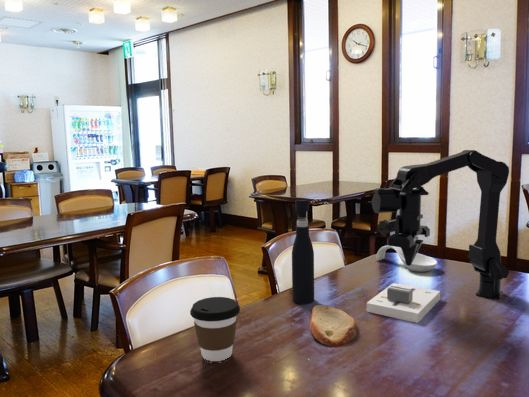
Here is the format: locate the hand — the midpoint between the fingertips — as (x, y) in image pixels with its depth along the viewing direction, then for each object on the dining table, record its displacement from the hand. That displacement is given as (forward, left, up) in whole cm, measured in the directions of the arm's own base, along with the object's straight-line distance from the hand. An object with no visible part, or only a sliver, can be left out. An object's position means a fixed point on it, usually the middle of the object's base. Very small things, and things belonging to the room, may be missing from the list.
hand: (408, 265), depth 130 cm
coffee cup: (+55, -24, -11) cm, 61 cm away
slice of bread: (+28, -11, -12) cm, 32 cm away
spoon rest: (-35, -13, -11) cm, 39 cm away
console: (+3, 0, -11) cm, 11 cm away
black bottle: (+15, -26, -11) cm, 32 cm away
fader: (+7, 0, -8) cm, 11 cm away
